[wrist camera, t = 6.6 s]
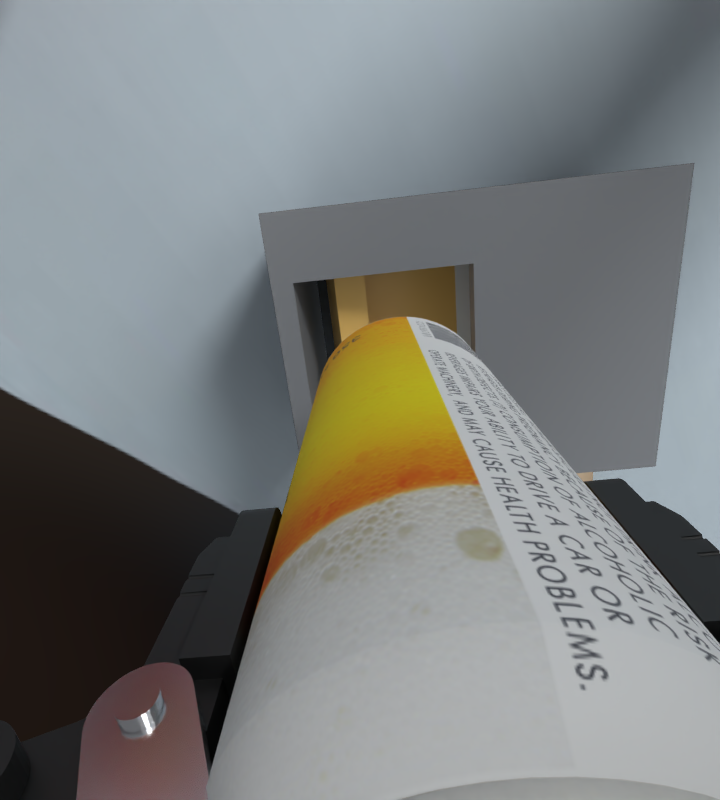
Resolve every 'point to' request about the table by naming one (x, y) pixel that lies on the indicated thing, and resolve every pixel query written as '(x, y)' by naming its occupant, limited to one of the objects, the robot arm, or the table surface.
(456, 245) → the box
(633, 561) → the beer can
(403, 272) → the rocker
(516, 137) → the table surface
